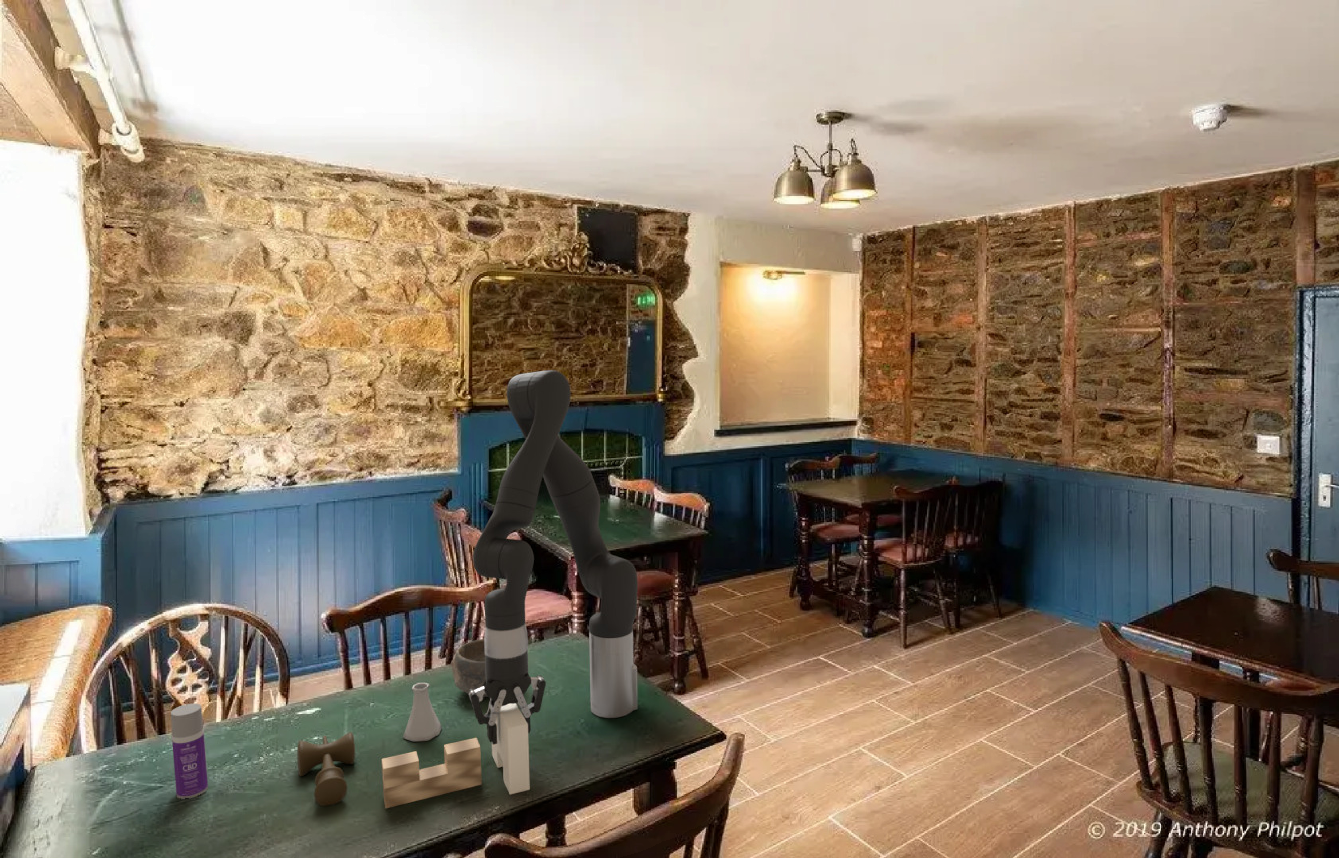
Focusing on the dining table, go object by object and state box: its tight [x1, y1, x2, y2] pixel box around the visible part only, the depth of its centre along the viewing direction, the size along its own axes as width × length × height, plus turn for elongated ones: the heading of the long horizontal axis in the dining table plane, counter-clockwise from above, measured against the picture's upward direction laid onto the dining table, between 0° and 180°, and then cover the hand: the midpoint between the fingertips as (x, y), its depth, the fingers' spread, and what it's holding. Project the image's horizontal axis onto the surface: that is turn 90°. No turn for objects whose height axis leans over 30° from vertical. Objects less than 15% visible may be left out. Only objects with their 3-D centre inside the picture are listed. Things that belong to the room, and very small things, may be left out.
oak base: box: [381, 737, 482, 809], centre depth 131 cm, size 16×4×7 cm, turn 115°
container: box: [170, 703, 209, 800], centre depth 131 cm, size 5×5×15 cm
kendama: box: [296, 732, 356, 807], centre depth 135 cm, size 6×10×20 cm
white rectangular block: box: [489, 697, 531, 795], centre depth 136 cm, size 14×4×12 cm, turn 26°
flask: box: [402, 682, 443, 743], centre depth 150 cm, size 7×7×10 cm
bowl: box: [450, 638, 490, 698], centre depth 169 cm, size 14×15×10 cm
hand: (509, 738), depth 136 cm, fingers open, 5 cm apart
